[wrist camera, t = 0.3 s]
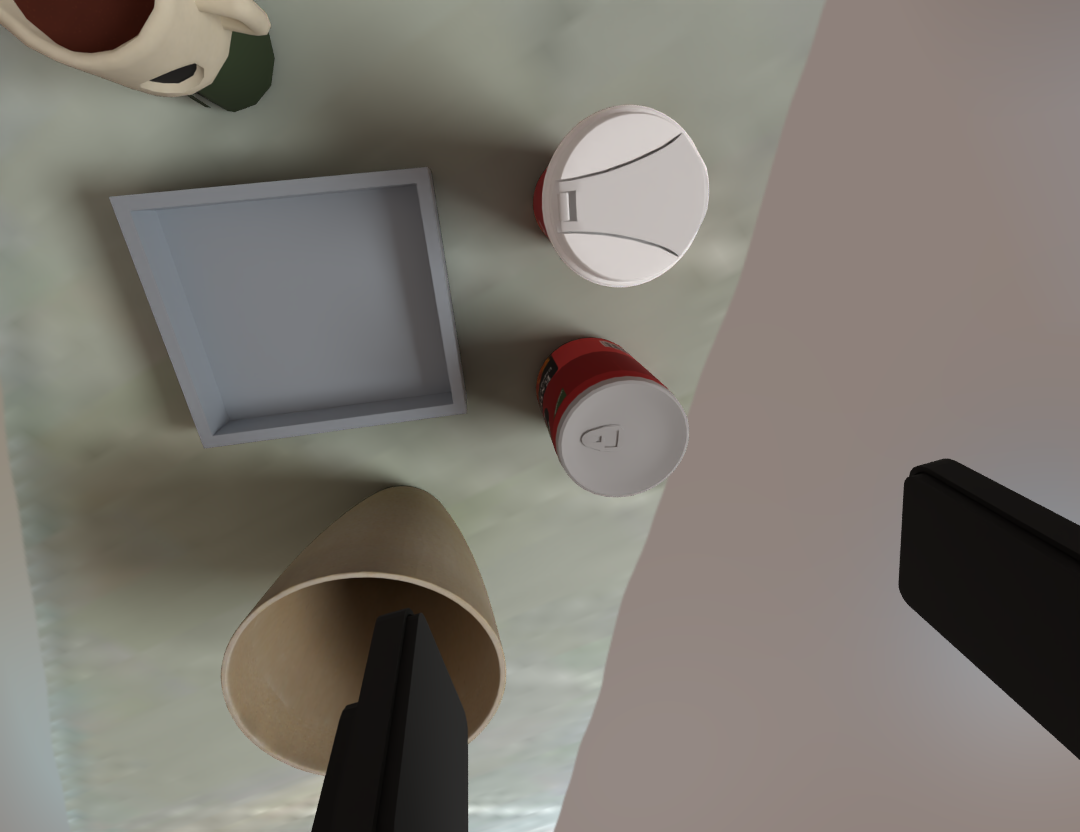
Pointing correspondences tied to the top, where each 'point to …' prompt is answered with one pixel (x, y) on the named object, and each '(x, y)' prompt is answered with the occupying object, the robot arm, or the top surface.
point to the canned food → (610, 418)
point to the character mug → (155, 44)
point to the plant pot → (360, 625)
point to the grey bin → (301, 302)
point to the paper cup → (623, 196)
